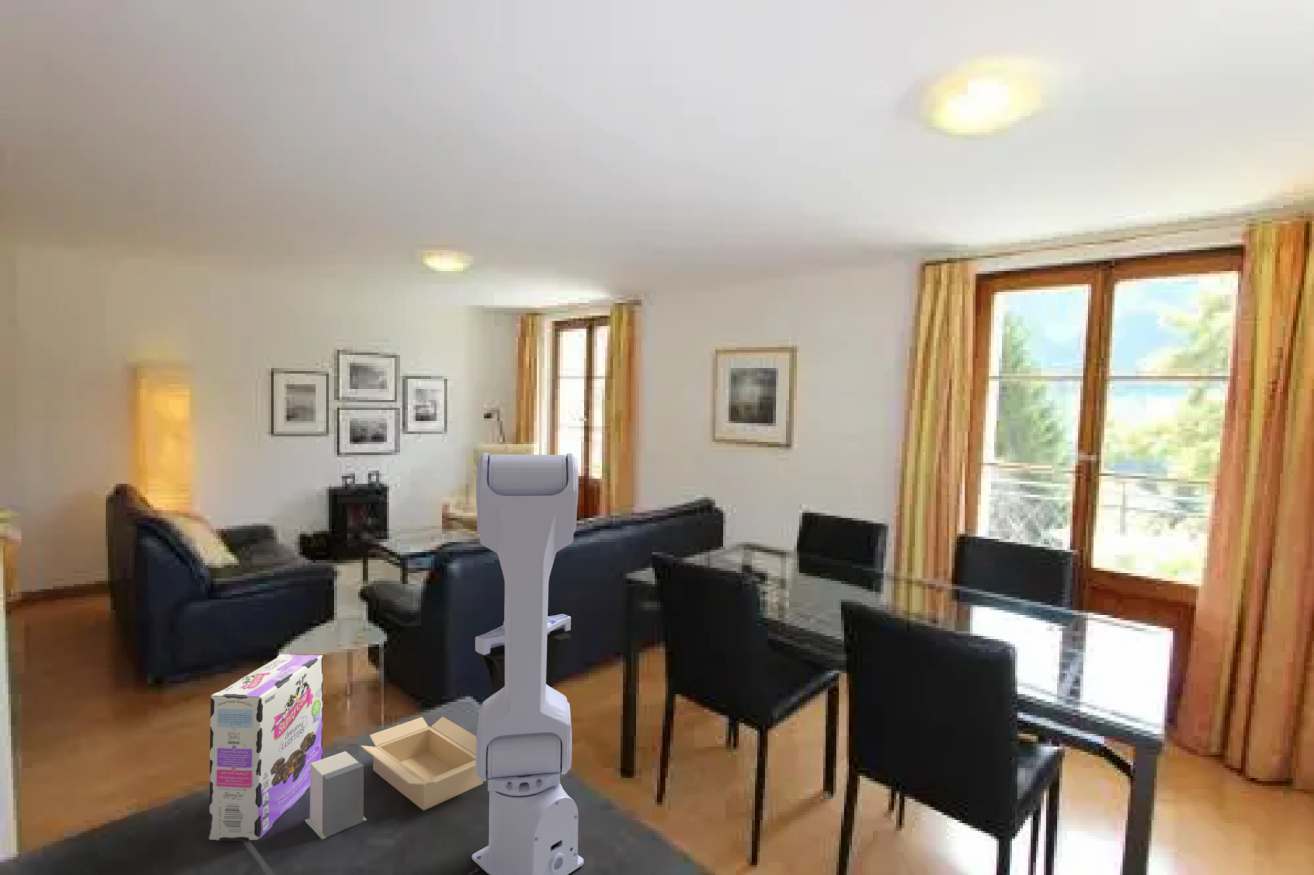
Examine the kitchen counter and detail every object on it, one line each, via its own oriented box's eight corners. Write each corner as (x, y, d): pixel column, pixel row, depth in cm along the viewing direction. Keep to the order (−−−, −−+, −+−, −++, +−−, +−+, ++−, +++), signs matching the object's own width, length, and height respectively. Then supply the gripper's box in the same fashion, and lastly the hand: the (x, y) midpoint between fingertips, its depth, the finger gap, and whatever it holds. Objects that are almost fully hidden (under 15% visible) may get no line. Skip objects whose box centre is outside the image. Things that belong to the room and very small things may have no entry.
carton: (435, 742, 96) (435, 712, 96) (503, 786, 85) (503, 752, 85) (353, 773, 88) (353, 740, 87) (416, 826, 76) (417, 789, 76)
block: (309, 818, 77) (310, 762, 77) (345, 804, 80) (345, 750, 80) (326, 837, 73) (326, 779, 73) (363, 821, 76) (363, 765, 76)
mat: (366, 822, 77) (367, 819, 77) (322, 842, 73) (322, 838, 73) (348, 805, 80) (348, 802, 80) (304, 823, 77) (304, 820, 77)
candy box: (259, 844, 73) (259, 696, 72) (206, 842, 73) (206, 695, 73) (324, 777, 87) (325, 652, 86) (280, 775, 87) (280, 651, 86)
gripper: (549, 580, 98) (548, 670, 98) (462, 598, 87) (461, 700, 88) (581, 588, 93) (579, 684, 94) (493, 609, 83) (492, 716, 83)
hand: (524, 693), depth 90 cm, fingers open, 7 cm apart
